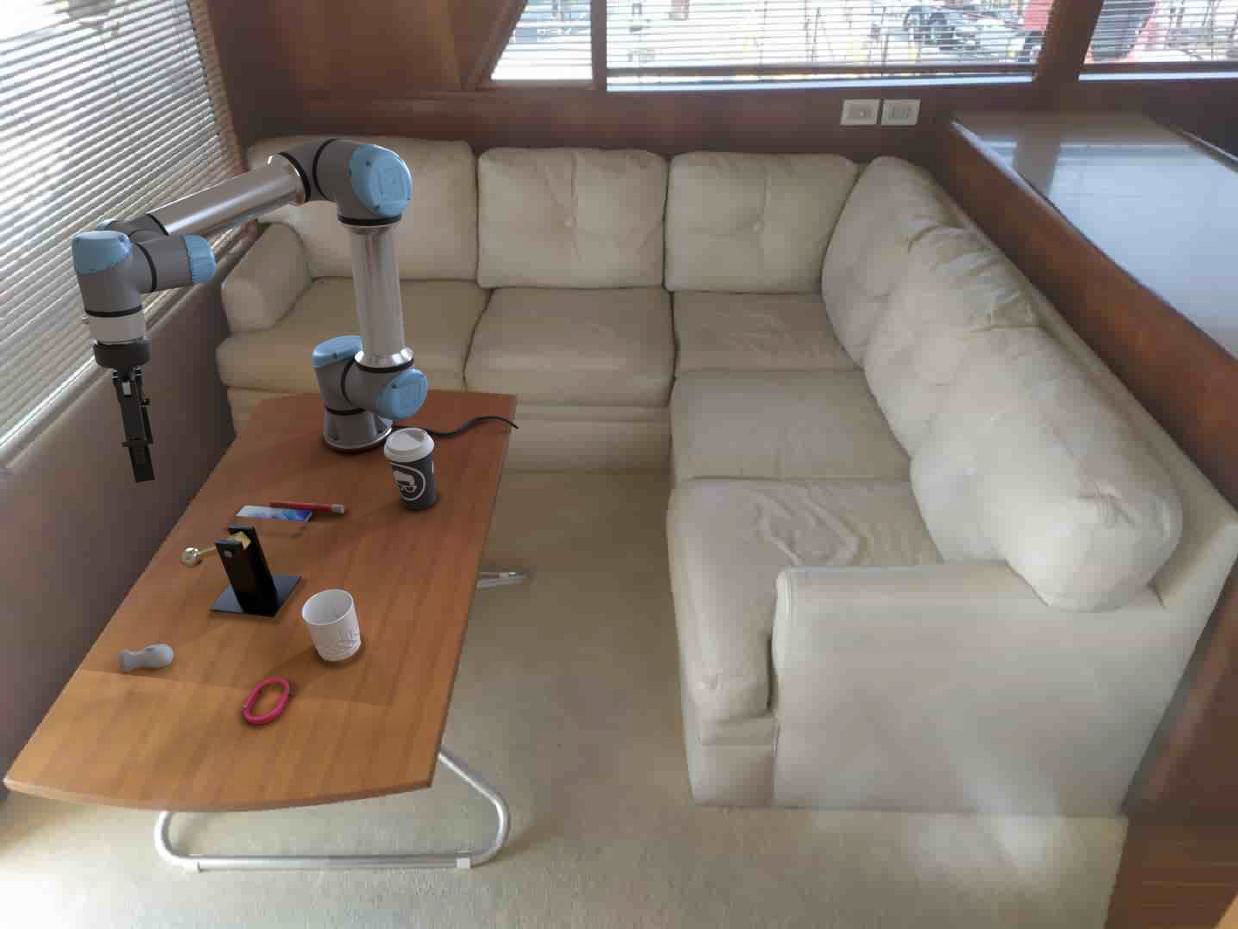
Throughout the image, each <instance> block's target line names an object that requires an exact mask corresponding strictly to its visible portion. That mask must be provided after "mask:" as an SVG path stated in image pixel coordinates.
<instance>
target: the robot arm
mask: <svg viewBox="0 0 1238 929" xmlns="http://www.w3.org/2000/svg"><path fill="white" fill-rule="evenodd" d="M412 196H413V180H412V176H411V172H410V170H409V168H408V166H407V164H406V162H405V161H404V160H403V158H401V157H400V156H399V155H398V154H397V153H396V152H394V151H392V150H390V149H388V148H384V147H383V146H381V145H377V144H375V143H368V142H360V141H355V140H350V139H344V138H341V137H335V136H328V137H321V138H316V139H313V140H309V141H306V142H303V143H300V144H298V145H295V146H292V147H290V148H287V149H285V150H282V151H280V152H277V153H274V154H272V155H270V157H269V158H268V160H267V164H264V165H262V166H260V167H257V168H254V169H251V170H249V171H247V172H244V173H242V174H240V175H237V176H234V177H232V178H230V179H227V180H225V181H222V182H220V183H218V184H215V185H213V186H210V187H207V188H205V189H203V190H201V191H197V192H195V193H192V194H190V195H188V196H185V197H182V198H180V199H178V200H175V201H173V202H170V203H168V204H166V205H163V206H161V207H158V208H156V209H153V210H150V211H148V212H146V213H143V214H140V215H137V216H135V217H133V218H130V219H128V220H126V219H121V218H108V219H105V220H102V221H100V222H99V223H98V224H97V225H96V226H95V227H94V229H93V230H92V231H85V232H81V233H79V234H77V235H76V236H74V237H73V239H72V240H71V254H72V263H73V269H74V272H75V275H76V280H77V283H78V288H79V292H80V295H81V299H82V303H83V308H84V312H85V317H82V319H81V323H82V324H83V325H88V331H89V335H90V338H91V339H92V341H91V347H92V351H93V356H94V361H95V363H96V364H97V365H98V366H99V367H101V368H104V369H111V370H113V371H112V377H111V378H112V385H113V387H114V389H115V392H116V399H117V400H116V401H117V403H118V404H119V406H120V411H121V418H122V424H123V429H124V435H125V441H122V442H121V446H122V448H127V449H128V453H129V454H128V455H129V458H130V462H131V467H132V472H133V477H134V481H135V483H142V482H150V481H156V476H155V470H154V466H153V465H154V464H153V460H152V456H151V451H150V446H149V445H152V444H154V438H153V433H152V432H153V431H152V428H151V424H150V422H151V421H150V417H149V412H148V408H147V406H151V399H150V397H147V398H145V396H146V393H145V392H144V389H143V387H144V382H143V371H142V368H139V367H140V366H143V365H146V364H147V363H149V362H150V361H151V359H152V352H151V346H150V342H149V337H148V336H147V333H148V329H147V325H146V324H147V323H146V318H145V313H144V307H143V304H142V298H141V297H142V296H141V295H146V294H152V293H157V292H163V291H168V290H169V291H170V290H174V289H179V288H186V287H194V286H196V285H200V284H203V283H207V282H209V281H212V279H213V278H214V276H215V274H216V271H217V263H216V257H215V253H214V251H213V249H212V247H211V245H210V244H209V242H208V240H210V239H212V238H214V237H217V236H219V235H221V234H224V233H226V232H228V231H230V230H233V229H235V228H239V226H242V225H244V224H246V223H249V222H251V221H253V220H255V219H258V218H261V217H262V216H265V215H268V214H270V213H272V212H275V211H276V210H278V209H280V208H283V207H286V206H287V205H291V206H293V207H300V206H302V205H304V204H306V203H311V202H318V201H319V202H320V201H321V202H330V203H334V204H335V208H336V216H337V222H338V223H339V224H340V225H341V226H342V227H343V228H345V230H347V237H348V245H349V253H350V261H351V269H352V279H353V287H354V295H355V303H356V312H357V322H358V331H359V335H356V334H355V335H354V334H352V335H351V334H349V335H341V336H337V337H333V338H330V339H327V340H326V341H324V342H323V341H322V342H321V343H320V344H318V345H317V346H315V348H314V349H313V351H312V353H311V359H312V368H313V370H314V372H315V376H316V379H317V384H318V387H319V392H320V394H321V398H322V402H323V406H324V409H325V412H324V423H323V431H322V436H323V440H324V443H325V444H326V446H327V447H328V448H329V449H331V450H333V451H335V452H337V453H338V452H339V453H345V454H346V453H347V454H354V453H362V452H363V453H364V452H366V451H370V450H373V449H375V448H378V447H380V446H382V445H383V444H386V441H387V438H388V437H389V436H390V435H391V434H392V433H394V432H395V429H400V430H401V429H405V428H419V429H422V430H424V431H425V432H426V433H430V434H433V435H436V436H441V437H447V436H448V437H449V436H453V435H456V434H459V433H461V432H462V431H464V430H465V429H466V428H468V426H469V425H471V424H472V423H474V422H477V421H483V420H499V421H502V422H505V423H507V425H510V426H511V427H513V428H514V429H515V430H518V429H520V427H519V426H518V425H517V424H516V423H514V422H513V421H511V420H509V419H508V418H506V417H504V416H499V415H481V416H476V417H474V418H471V419H469V420H468V421H467V422H465V423H464V424H462V426H461V427H459V428H457V429H455V430H453V431H448V432H446V431H445V432H442V431H437V430H433V429H430V428H426V427H419V426H411V425H404V424H403V425H402V424H394V422H403V421H406V420H409V419H411V417H413V416H414V415H416V413H417V412H419V410H420V409H421V407H422V405H424V402H425V401H426V398H427V395H428V389H429V384H428V379H427V377H426V375H425V374H424V373H423V372H422V371H421V370H420V369H417V368H416V366H415V365H416V364H415V354H414V351H413V349H411V348H410V347H408V345H406V339H405V329H404V328H405V327H404V318H403V307H402V306H403V305H402V297H401V296H402V295H401V285H400V284H401V283H400V273H399V261H398V251H397V242H396V241H397V240H396V228H397V226H398V225H399V224H400V223H401V222H403V221H402V220H403V215H402V213H403V212H404V211H405V210H406V209H407V207H408V206H409V201H410V200H411V199H412ZM138 366H139V367H138Z"/></svg>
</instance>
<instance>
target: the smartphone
mask: <svg viewBox="0 0 1238 929" xmlns="http://www.w3.org/2000/svg"><path fill="white" fill-rule="evenodd" d="M312 515H313V511H311V510H300V509H285V508H271V507H270V506H265V505H255V504H253V505H251V504H244V505H242V507H241V508H240V509H238V511H237V512H236V513H235V515H234V517H235V516H236V517H246V518H247V517H248V518H257V519H270V520H280V521H294V522H304V523H308V521H309V520H310V518H311V517H312Z"/></svg>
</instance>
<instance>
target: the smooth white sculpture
mask: <svg viewBox="0 0 1238 929" xmlns="http://www.w3.org/2000/svg"><path fill="white" fill-rule="evenodd" d="M174 656H175V654H174V651H173V649H172V648H171V646H170V645H168V644H166V643H157V644H150V645H148V646H145V647H143V648H142V649H140V650H139V651H130V650H129V649H126V648H125V649H123V650H122V651H120V652H119V653H118V662H119V667H120V670H121V671H122V672H123V673H127V674H129V673H131V672H132V671H135V670H138V669H147V668H148V669H154V670H155V669H156V670H157V669H163V668H166V667H168V666H169V665H170V664H171V663H172V661H173V659H174Z"/></svg>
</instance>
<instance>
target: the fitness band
mask: <svg viewBox="0 0 1238 929" xmlns="http://www.w3.org/2000/svg"><path fill="white" fill-rule="evenodd" d="M274 682H275V683H276V682H278V683H281V684H283V686H284V692H283V694H282V696H281V697H280V699H279V700H278V702H277V703H276V705H275V707H274V708H273V709H272V710H271V711H270V712H268V713H266V714H264V715H261V716H252V715H251V714H250V713H251V709H252V707H253V706H254V704H255V702H256V701H257V700H258V699H259V697H260V695H261V694H262V692H263V691H262V690H261V688H263V687H264V686H266V685H267V684H270V683H274ZM289 692H290V684H289V682H288V681H287V680H286V679H284V678H281V677H271V678H267V679H265V680H263V681H261V682H260V683H258V684H257V685H256V686H255V687H254V688H253V689H252V691H251V692H250V693H249V695H248V696H247V698H246V699H245V701H244V703H243V704H242V709H243V715H244V718H245V720H246V721H247V722H248V723H250V724H253V725H263V724H267V723H270V722H271V721H273V720H275V719H276V718H277V717H279V715H280V714H281V713H282V711H283V710H284V708H285V707H286V705H287V704H288V702H289V700H290V697H291V695H292V693H289Z"/></svg>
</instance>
